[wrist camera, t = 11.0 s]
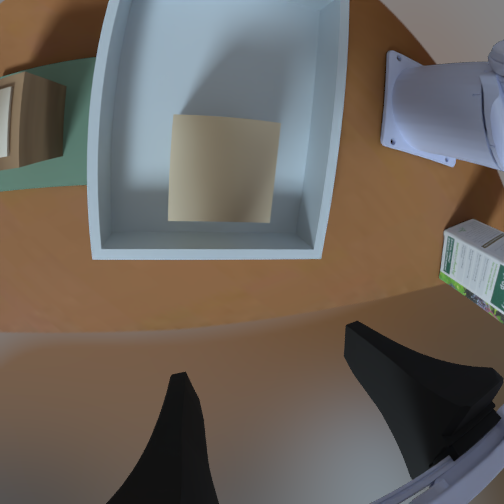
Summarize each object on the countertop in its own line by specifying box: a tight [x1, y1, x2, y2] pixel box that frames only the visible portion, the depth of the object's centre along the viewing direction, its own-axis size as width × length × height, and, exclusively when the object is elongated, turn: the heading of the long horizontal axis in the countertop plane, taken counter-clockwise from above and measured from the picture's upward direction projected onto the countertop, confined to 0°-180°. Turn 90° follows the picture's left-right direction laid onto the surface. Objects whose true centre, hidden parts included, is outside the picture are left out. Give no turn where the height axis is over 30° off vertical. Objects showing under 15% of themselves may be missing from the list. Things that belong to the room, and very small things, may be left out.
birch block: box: [168, 114, 281, 223], centre depth 14 cm, size 4×4×6 cm
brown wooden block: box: [0, 72, 67, 171], centre depth 10 cm, size 4×4×6 cm
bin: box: [87, 0, 349, 260], centre depth 14 cm, size 13×17×4 cm
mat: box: [0, 57, 96, 191], centre depth 13 cm, size 8×8×1 cm
